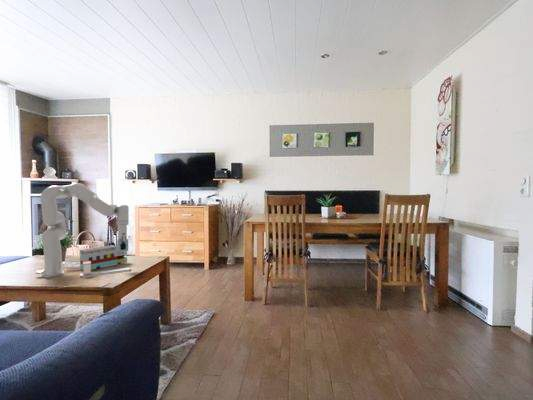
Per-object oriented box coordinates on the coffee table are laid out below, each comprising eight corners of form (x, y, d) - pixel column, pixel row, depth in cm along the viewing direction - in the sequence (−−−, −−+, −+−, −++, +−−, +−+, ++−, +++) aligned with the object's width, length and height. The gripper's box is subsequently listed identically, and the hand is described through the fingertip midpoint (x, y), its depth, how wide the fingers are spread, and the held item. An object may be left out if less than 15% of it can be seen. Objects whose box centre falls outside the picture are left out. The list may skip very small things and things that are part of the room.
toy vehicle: (127, 264, 233) (127, 244, 233) (85, 272, 209) (84, 251, 209) (122, 262, 238) (122, 243, 238) (80, 270, 214) (79, 249, 214)
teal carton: (128, 250, 212) (128, 239, 211) (117, 251, 208) (117, 240, 208) (127, 249, 215) (127, 238, 215) (117, 250, 212) (117, 239, 212)
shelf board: (80, 279, 193) (80, 276, 193) (79, 275, 203) (79, 272, 203) (131, 272, 209) (131, 269, 209) (128, 268, 219) (128, 266, 218)
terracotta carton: (83, 276, 196) (82, 264, 196) (83, 274, 202) (82, 262, 202) (91, 275, 199) (91, 263, 199) (90, 273, 204) (90, 261, 204)
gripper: (115, 221, 216) (115, 247, 217) (118, 224, 202) (118, 251, 203) (126, 221, 220) (126, 246, 221) (130, 223, 206) (130, 250, 207)
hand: (122, 248), depth 212 cm, fingers closed on teal carton, 4 cm apart
